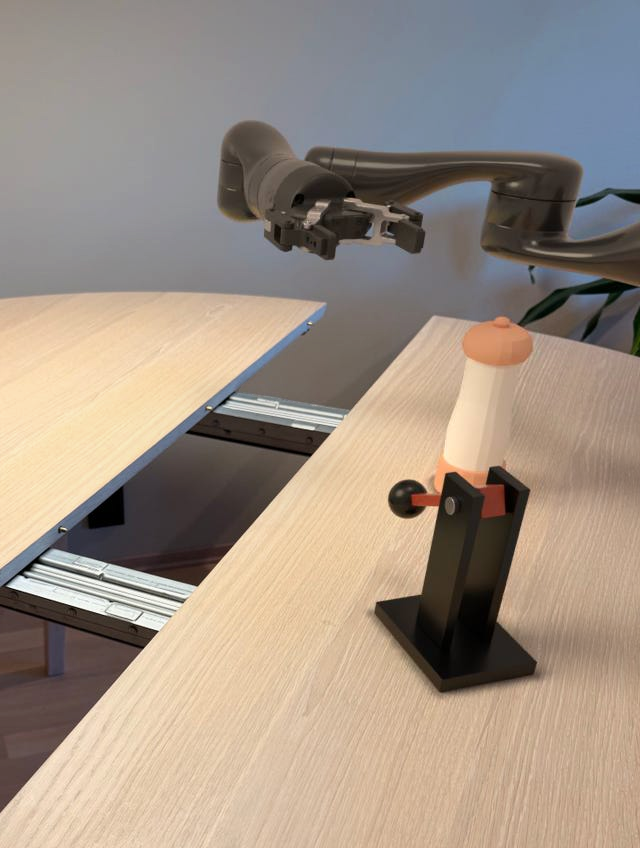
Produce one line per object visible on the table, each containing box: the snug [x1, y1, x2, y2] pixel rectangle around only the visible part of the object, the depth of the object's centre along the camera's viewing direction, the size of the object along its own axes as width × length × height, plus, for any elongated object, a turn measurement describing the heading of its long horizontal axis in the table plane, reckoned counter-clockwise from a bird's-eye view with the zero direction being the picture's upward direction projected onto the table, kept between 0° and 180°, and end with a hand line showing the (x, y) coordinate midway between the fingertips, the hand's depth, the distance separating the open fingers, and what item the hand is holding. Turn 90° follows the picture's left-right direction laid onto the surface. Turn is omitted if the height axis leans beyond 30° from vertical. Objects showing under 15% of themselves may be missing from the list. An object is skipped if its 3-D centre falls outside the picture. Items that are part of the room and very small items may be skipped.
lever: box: [387, 478, 505, 520], centre depth 84 cm, size 15×4×4 cm, turn 17°
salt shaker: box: [433, 316, 534, 494], centre depth 105 cm, size 7×7×19 cm
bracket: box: [373, 466, 538, 693], centre depth 82 cm, size 12×9×16 cm
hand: (376, 245), depth 88 cm, fingers open, 8 cm apart
